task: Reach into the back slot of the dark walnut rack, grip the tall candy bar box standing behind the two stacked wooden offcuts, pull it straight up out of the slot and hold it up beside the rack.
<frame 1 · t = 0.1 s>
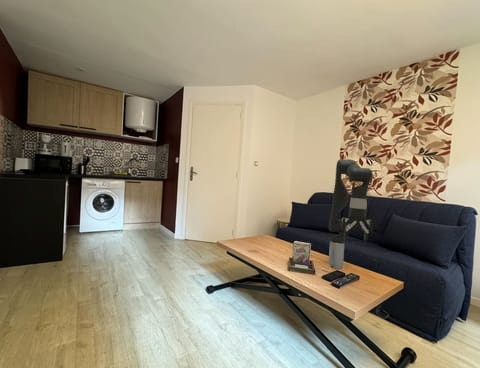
hand: (355, 239, 115), 29 cm above the table, tool pointing down, fingers open, 8 cm apart
sage offcut: (301, 269, 145), point 1 cm above the table, touching birch offcut
birch offcut: (300, 272, 145), on the table, touching sage offcut
candy bar box: (300, 267, 154), on the table
walnut rack: (300, 269, 149), on the table
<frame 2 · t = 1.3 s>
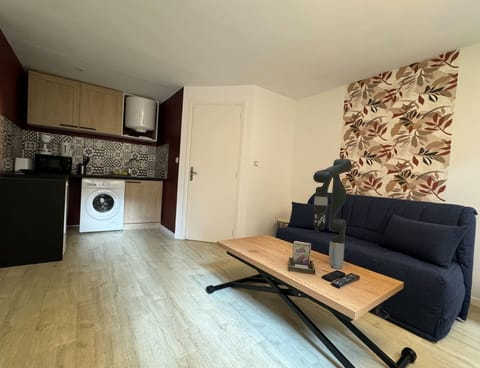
hand: (319, 230, 140), 28 cm above the table, tool pointing down, fingers open, 8 cm apart
sage offcut: (301, 269, 145), point 1 cm above the table
birch offcut: (300, 272, 145), on the table
everything else where it was.
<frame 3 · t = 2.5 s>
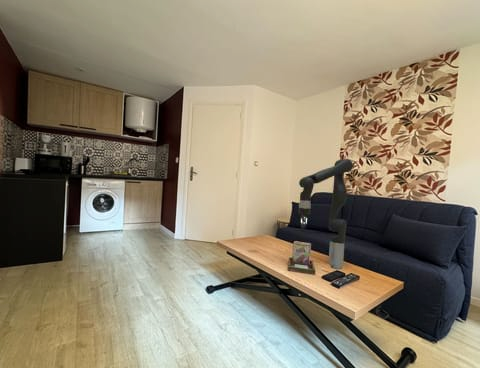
hand: (303, 231, 154), 24 cm above the table, tool pointing down, fingers open, 8 cm apart
sage offcut: (301, 269, 145), point 1 cm above the table, touching birch offcut
birch offcut: (300, 272, 145), on the table, touching sage offcut
everything else where it was.
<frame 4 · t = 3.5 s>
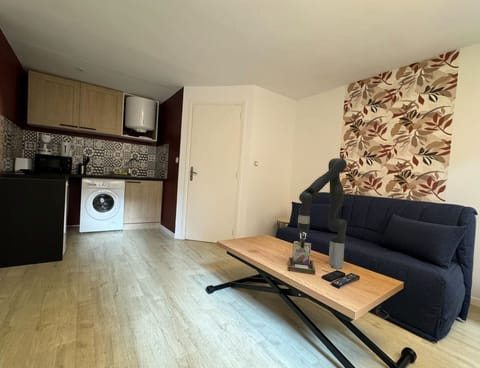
hand: (301, 246, 153), 14 cm above the table, tool pointing down, fingers open, 8 cm apart
nothing on the table moved.
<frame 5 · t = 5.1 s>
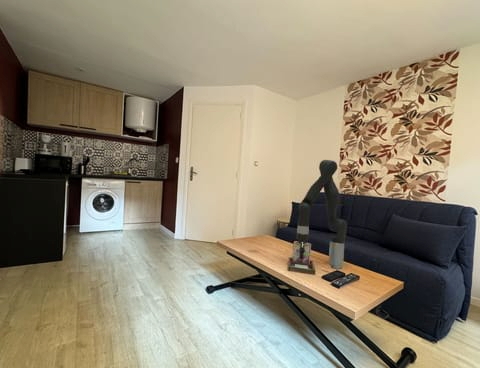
hand: (301, 257, 154), 7 cm above the table, tool pointing down, fingers closed on candy bar box, 5 cm apart
candy bar box: (300, 267, 154), on the table, touching gripper
everything else where it was.
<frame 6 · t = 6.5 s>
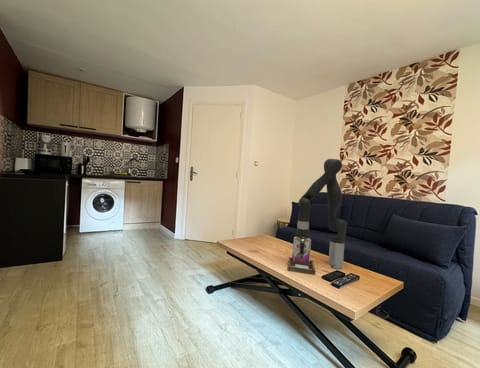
hand: (301, 252, 154), 10 cm above the table, tool pointing down, fingers closed on candy bar box, 5 cm apart
candy bar box: (300, 262, 154), point 3 cm above the table, touching gripper
everything else where it was.
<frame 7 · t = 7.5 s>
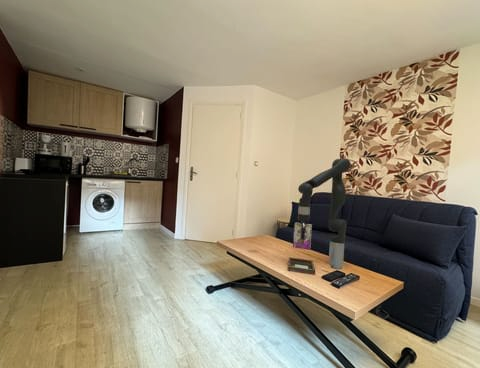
hand: (302, 238, 154), 19 cm above the table, tool pointing down, fingers closed on candy bar box, 5 cm apart
candy bar box: (301, 248, 154), point 13 cm above the table, touching gripper
everything else where it was.
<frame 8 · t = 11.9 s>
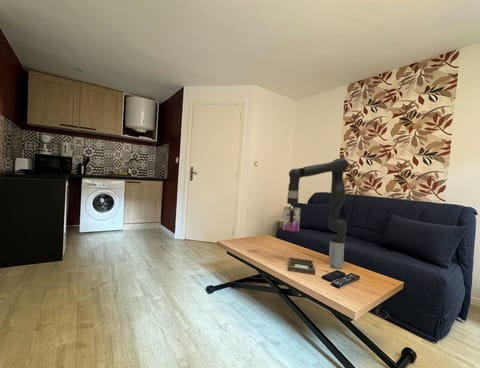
hand: (291, 221, 160), 29 cm above the table, tool pointing down, fingers closed on candy bar box, 5 cm apart
candy bar box: (290, 230, 160), point 23 cm above the table, touching gripper
everything else where it was.
at the end: the gripper is holding candy bar box; candy bar box point 22.6 cm above the table; sage offcut moved 0.7 cm from its start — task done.
